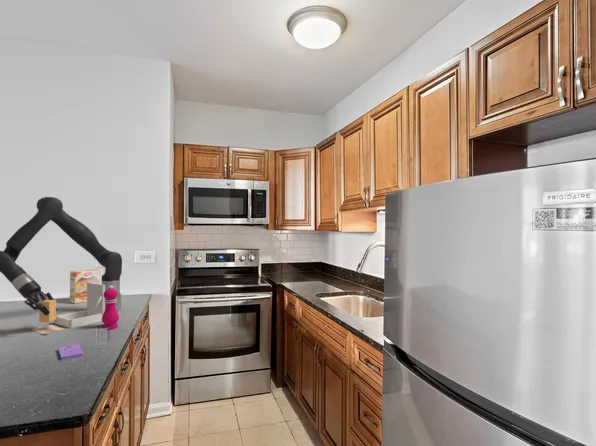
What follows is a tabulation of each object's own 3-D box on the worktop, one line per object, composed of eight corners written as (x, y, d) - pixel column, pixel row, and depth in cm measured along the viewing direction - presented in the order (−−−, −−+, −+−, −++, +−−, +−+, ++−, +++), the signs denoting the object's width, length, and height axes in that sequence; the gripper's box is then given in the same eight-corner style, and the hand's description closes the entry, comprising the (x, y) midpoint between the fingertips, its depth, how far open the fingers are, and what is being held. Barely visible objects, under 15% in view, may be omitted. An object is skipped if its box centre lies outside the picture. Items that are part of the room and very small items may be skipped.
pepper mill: (111, 330, 169) (112, 287, 169) (98, 329, 170) (98, 286, 170) (122, 326, 176) (122, 284, 176) (109, 325, 177) (109, 284, 177)
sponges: (78, 348, 146) (78, 343, 146) (83, 357, 136) (83, 352, 136) (57, 352, 142) (57, 347, 142) (61, 361, 132) (61, 356, 132)
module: (46, 319, 169) (46, 299, 169) (55, 319, 169) (56, 300, 169) (39, 321, 165) (39, 301, 165) (49, 322, 165) (49, 302, 165)
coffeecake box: (75, 304, 222) (75, 272, 222) (69, 302, 226) (69, 271, 226) (99, 299, 235) (99, 269, 235) (93, 298, 239) (94, 268, 239)
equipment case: (89, 318, 190) (89, 282, 190) (104, 322, 183) (105, 285, 183) (54, 325, 176) (54, 287, 176) (70, 330, 169) (70, 290, 169)
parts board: (52, 326, 174) (52, 324, 174) (65, 330, 168) (65, 328, 168) (30, 331, 166) (30, 329, 166) (43, 335, 160) (43, 333, 160)
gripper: (20, 282, 160) (47, 310, 160) (43, 277, 174) (68, 303, 174) (8, 294, 160) (34, 322, 160) (32, 288, 174) (56, 314, 174)
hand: (51, 312), depth 167 cm, fingers closed on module, 4 cm apart
